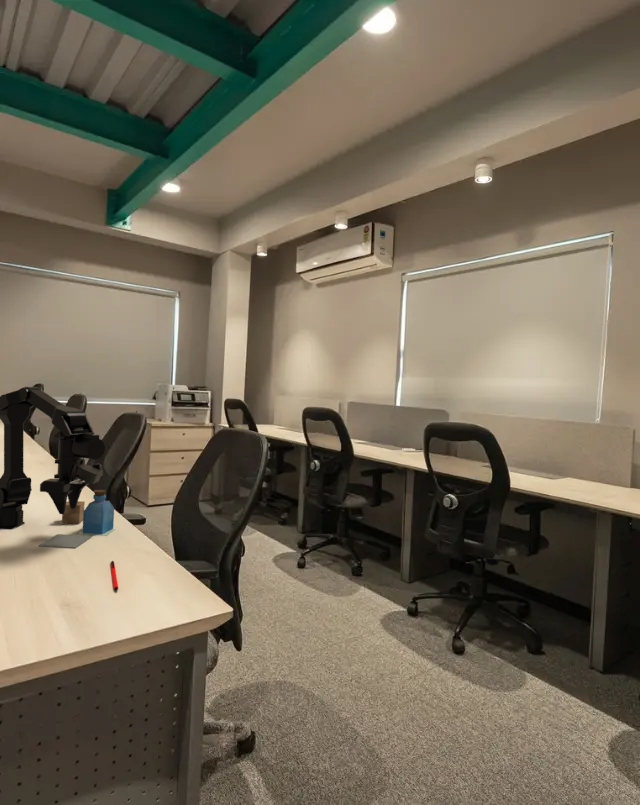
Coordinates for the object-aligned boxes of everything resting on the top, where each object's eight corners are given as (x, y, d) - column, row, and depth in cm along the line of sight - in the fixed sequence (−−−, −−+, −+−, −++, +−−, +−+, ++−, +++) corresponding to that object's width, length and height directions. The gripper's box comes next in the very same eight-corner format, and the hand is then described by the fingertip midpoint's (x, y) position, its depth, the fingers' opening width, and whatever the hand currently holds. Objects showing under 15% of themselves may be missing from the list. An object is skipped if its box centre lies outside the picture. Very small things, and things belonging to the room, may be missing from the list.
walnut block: (61, 524, 151) (62, 505, 151) (67, 519, 156) (67, 501, 156) (79, 524, 152) (80, 505, 152) (83, 519, 157) (84, 501, 157)
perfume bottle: (102, 534, 144) (104, 493, 144) (82, 532, 144) (84, 492, 144) (113, 528, 150) (115, 489, 150) (94, 526, 151) (95, 488, 150)
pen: (113, 563, 124) (114, 558, 124) (118, 593, 106) (119, 588, 106) (110, 563, 123) (110, 559, 123) (114, 593, 106) (114, 588, 106)
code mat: (75, 534, 143) (75, 534, 143) (90, 526, 152) (90, 525, 152) (106, 536, 143) (106, 535, 143) (119, 527, 152) (119, 527, 152)
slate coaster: (38, 546, 131) (38, 545, 131) (57, 535, 141) (57, 534, 141) (75, 548, 131) (75, 547, 131) (92, 537, 141) (92, 535, 141)
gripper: (83, 462, 126) (80, 522, 127) (112, 452, 145) (110, 504, 145) (39, 459, 126) (37, 519, 127) (75, 450, 145) (73, 502, 145)
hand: (67, 511), depth 136 cm, fingers open, 6 cm apart
